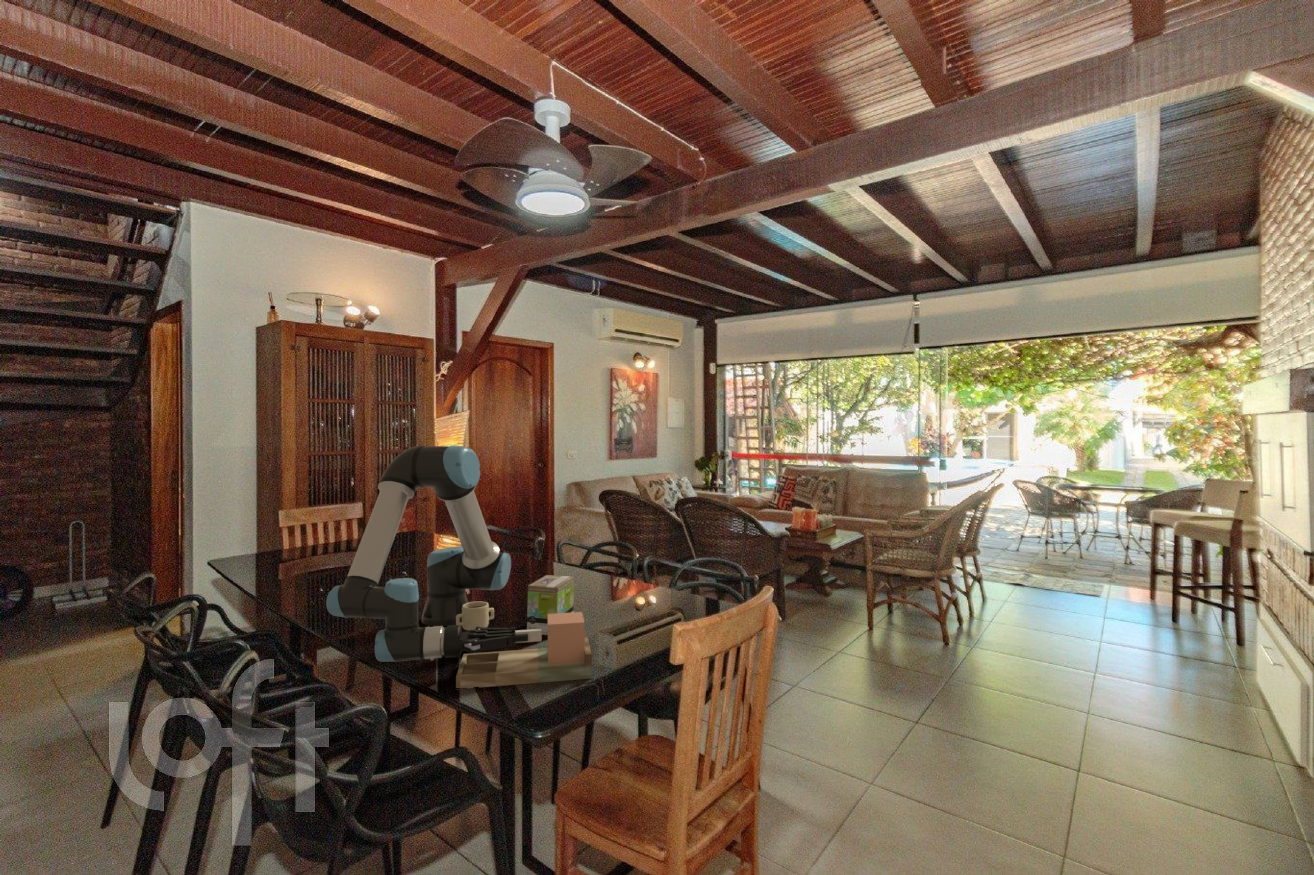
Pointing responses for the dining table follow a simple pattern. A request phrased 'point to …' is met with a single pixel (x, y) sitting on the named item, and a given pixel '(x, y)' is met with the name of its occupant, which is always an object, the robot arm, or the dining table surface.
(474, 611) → the character mug
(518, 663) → the trap deck
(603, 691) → the dining table surface
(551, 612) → the tea box
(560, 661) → the terracotta block
